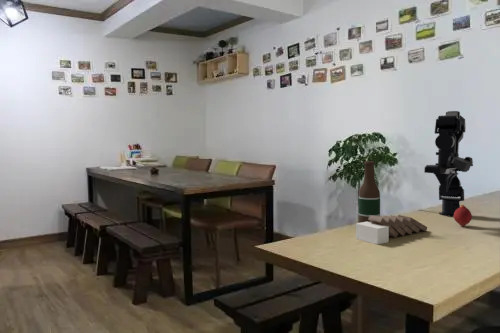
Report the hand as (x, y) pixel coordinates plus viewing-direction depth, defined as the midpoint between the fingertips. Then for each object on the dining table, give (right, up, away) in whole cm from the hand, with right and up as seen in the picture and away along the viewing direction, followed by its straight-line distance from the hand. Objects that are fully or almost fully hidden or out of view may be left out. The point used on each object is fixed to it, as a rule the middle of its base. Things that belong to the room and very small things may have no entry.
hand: (445, 191), depth 154 cm
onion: (+4, -12, -4) cm, 14 cm away
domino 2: (-22, -13, -14) cm, 30 cm away
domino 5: (-13, -12, -8) cm, 19 cm away
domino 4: (-16, -12, -11) cm, 23 cm away
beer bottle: (-29, -13, -2) cm, 31 cm away
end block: (-33, -14, -21) cm, 42 cm away
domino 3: (-19, -13, -13) cm, 27 cm away
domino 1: (-26, -13, -16) cm, 33 cm away
